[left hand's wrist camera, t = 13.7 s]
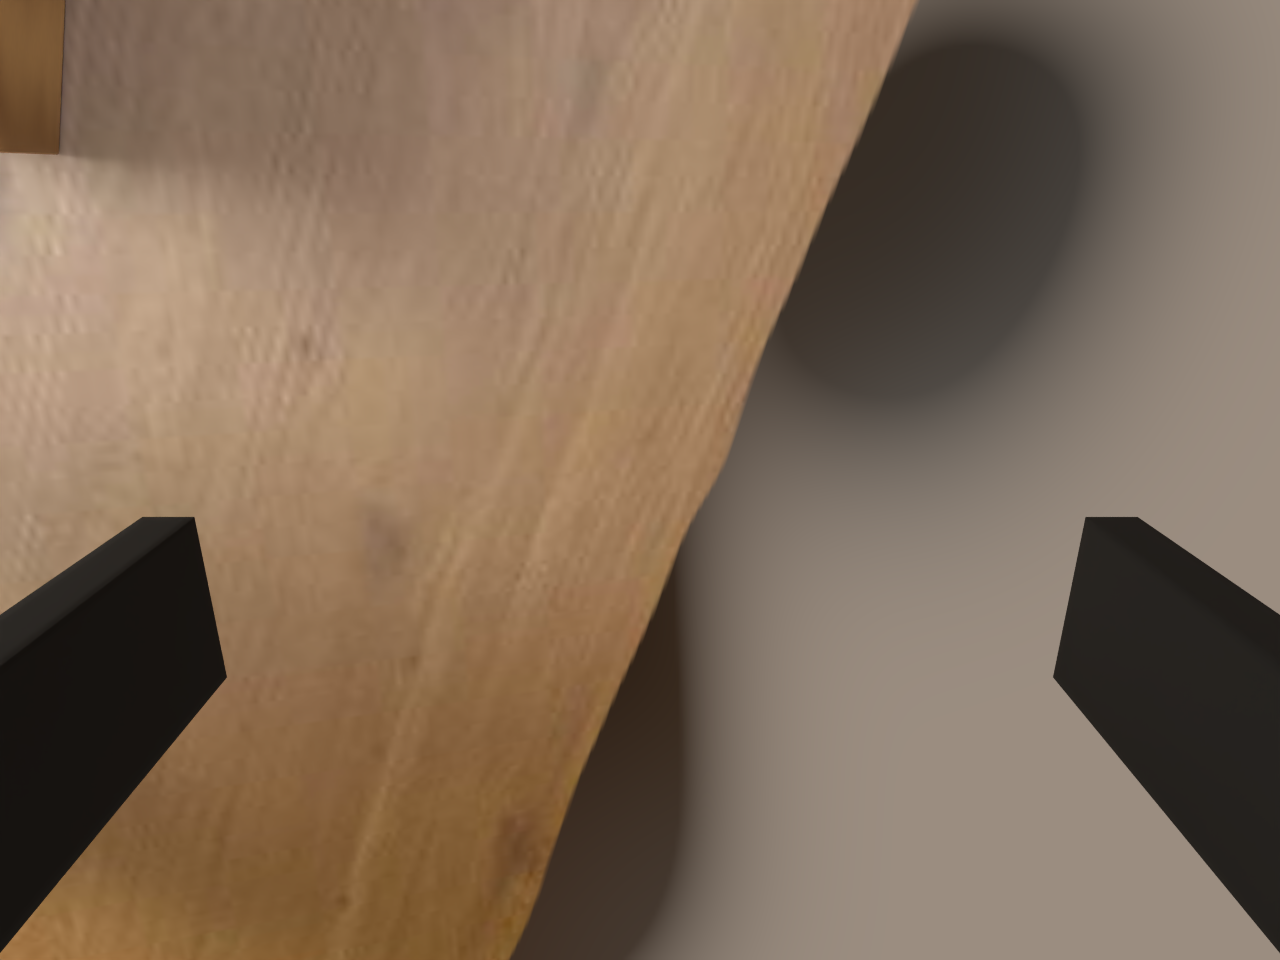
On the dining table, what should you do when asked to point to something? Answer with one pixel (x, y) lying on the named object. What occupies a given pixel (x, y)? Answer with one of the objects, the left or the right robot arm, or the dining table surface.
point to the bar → (30, 75)
